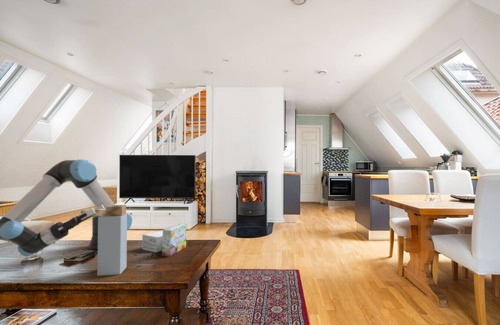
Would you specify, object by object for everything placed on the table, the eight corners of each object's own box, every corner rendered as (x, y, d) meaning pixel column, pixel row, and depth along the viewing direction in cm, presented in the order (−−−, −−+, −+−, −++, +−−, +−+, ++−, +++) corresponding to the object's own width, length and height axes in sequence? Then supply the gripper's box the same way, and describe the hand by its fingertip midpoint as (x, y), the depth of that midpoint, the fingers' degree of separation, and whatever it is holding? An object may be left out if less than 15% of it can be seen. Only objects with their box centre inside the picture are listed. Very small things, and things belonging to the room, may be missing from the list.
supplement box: (156, 252, 162) (156, 237, 162) (141, 249, 168) (142, 234, 169) (177, 246, 176) (177, 231, 177) (163, 243, 183) (163, 229, 183)
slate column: (97, 275, 126) (98, 217, 127) (105, 268, 135) (106, 214, 136) (120, 274, 127) (120, 216, 128) (126, 266, 137) (127, 213, 138)
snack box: (170, 257, 153) (170, 230, 153) (161, 256, 154) (161, 229, 155) (186, 246, 174) (186, 223, 174) (178, 246, 175) (178, 223, 175)
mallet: (78, 217, 127) (78, 207, 127) (85, 215, 134) (85, 205, 134) (121, 216, 130) (121, 206, 130) (126, 213, 137) (126, 204, 137)
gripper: (72, 234, 140) (111, 211, 143) (44, 246, 117) (92, 219, 120) (64, 221, 140) (103, 199, 143) (35, 231, 116) (83, 204, 120)
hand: (98, 208), depth 131 cm, fingers open, 11 cm apart
